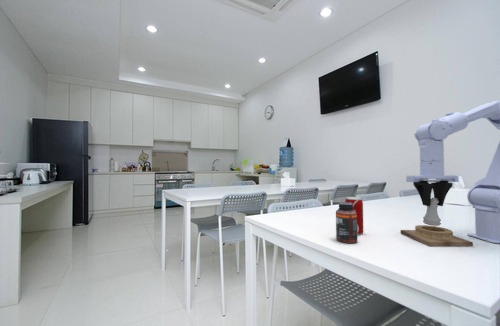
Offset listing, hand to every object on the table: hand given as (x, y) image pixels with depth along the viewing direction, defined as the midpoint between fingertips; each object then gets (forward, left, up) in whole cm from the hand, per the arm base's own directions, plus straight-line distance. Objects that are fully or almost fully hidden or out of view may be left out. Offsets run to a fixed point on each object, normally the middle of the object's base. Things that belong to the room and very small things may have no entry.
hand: (432, 205), depth 68 cm
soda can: (+21, -7, -11) cm, 24 cm away
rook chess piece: (0, -1, -6) cm, 6 cm away
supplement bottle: (+27, +1, -11) cm, 29 cm away
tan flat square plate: (0, 0, -10) cm, 10 cm away
